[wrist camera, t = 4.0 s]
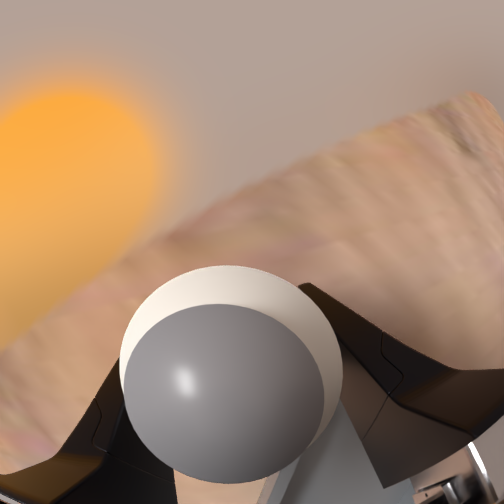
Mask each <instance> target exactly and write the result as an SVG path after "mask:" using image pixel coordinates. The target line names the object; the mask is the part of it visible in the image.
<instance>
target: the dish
mask: <svg viewBox="0 0 504 504" xmlns="http://www.w3.org/2000/svg"><path fill="white" fill-rule="evenodd" d="M413 494H415V491H414V488H413V486H412V484H411V481H410V479H409V478H408V479H406V480H404V481H402V482H400V483H397V484H395V485H393V486H390V487H388V488H386V489H383V487H382V485H381V483H380V481H379V479H378V476H377V474H376V472H375V470H374V468H373V466H372V464H371V462H370V460H369V458H368V455H367V453H366V451H365V449H364V447H363V445H362V442H361V441H360V439H359V437H358V435H357V432H356V430H355V428H354V426H353V424H352V422H351V420H350V418H349V416H348V414H347V412H346V410H345V408H344V406H343V404H342V402H341V400H340V398H339V401H338V404H337V407H336V409H335V412H334V414H333V416H332V418H331V420H330V421H329V423H328V425H327V427H326V428H325V429H324V431H323V432H322V433H321V434H320V436H319V437H318V438H317V439H316V440H315V441H314V442H313V443H312V444H311V445H310V446H309V447H308V448H307V449H305V451H304V452H303V453H302V454H301V455H300V456H299V457H298V458H297V459H296V460H295V461H294V462H292V463H291V464H290V465H288V466H287V467H285V468H284V469H282V470H280V471H278V472H276V473H274V474H273V475H270V476H268V478H267V480H266V483H265V485H264V488H263V490H262V493H261V495H260V497H259V500H258V502H257V504H415V502H414V499H413V497H412V495H413Z"/></svg>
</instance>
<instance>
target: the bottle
mask: <svg viewBox="0 0 504 504" xmlns="http://www.w3.org/2000/svg"><path fill="white" fill-rule="evenodd" d="M120 380H121V387H122V390H123V394H124V400H125V406H126V410H127V413H128V416H129V419H130V421H131V423H132V426H133V428H134V430H135V431H136V433H137V435H138V436H139V438H140V439H141V441H142V442H143V443H144V444H145V446H146V447H147V448H148V449H149V450H150V451H151V452H152V453H153V454H154V455H155V456H156V457H157V458H159V459H160V460H161V461H162V462H164V463H165V464H166V465H168V466H170V467H171V468H173V469H175V470H176V471H178V472H181V473H183V474H185V475H187V476H190V477H193V478H196V479H199V480H203V481H208V482H213V483H223V484H234V483H244V482H251V481H255V480H259V479H262V478H265V477H267V476H270V475H273V474H274V473H276V472H278V471H280V470H282V469H284V468H285V467H287V466H288V465H290V464H291V463H292V462H294V461H295V460H296V459H297V458H298V457H299V456H300V455H301V454H302V453H303V452H304V451H305V449H307V448H308V447H309V446H310V445H311V444H312V443H313V442H314V441H315V440H316V439H317V438H318V437H319V436H320V434H321V433H322V432H323V431H324V429H325V428H326V427H327V425H328V423H329V421H330V420H331V418H332V416H333V414H334V412H335V409H336V407H337V404H338V401H339V397H340V393H341V389H342V380H343V366H342V357H341V352H340V347H339V344H338V341H337V338H336V335H335V333H334V331H333V329H332V327H331V325H330V323H329V321H328V320H327V318H326V317H325V316H324V314H323V313H322V311H321V310H320V309H319V307H318V306H317V305H316V304H315V303H314V302H313V301H312V300H311V299H310V298H309V297H308V296H307V295H306V294H304V293H303V292H302V291H301V290H300V289H298V288H297V287H295V286H294V285H292V284H291V283H289V282H287V281H286V280H284V279H282V278H279V277H277V276H275V275H273V274H271V273H268V272H264V271H261V270H258V269H254V268H248V267H243V266H228V265H225V266H211V267H206V268H201V269H196V270H193V271H190V272H187V273H185V274H182V275H180V276H178V277H176V278H174V279H172V280H170V281H168V282H167V283H165V284H164V285H162V286H161V287H159V288H158V289H157V290H155V291H154V292H153V293H152V294H151V295H150V296H149V297H148V298H147V299H146V300H145V301H144V302H143V303H142V305H141V306H140V307H139V308H138V310H137V311H136V313H135V314H134V316H133V318H132V319H131V321H130V323H129V325H128V328H127V330H126V332H125V335H124V339H123V342H122V346H121V352H120Z"/></svg>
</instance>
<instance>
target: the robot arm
mask: <svg viewBox="0 0 504 504" xmlns="http://www.w3.org/2000/svg"><path fill="white" fill-rule="evenodd" d="M298 289H300V290H301V291H302V292H303V293H304V294H306V295H307V296H308V297H309V298H310V299H311V300H312V301H313V302H314V303H315V304H316V305H317V306H318V307H319V309H320V310H321V311H322V313H323V314H324V316H325V317H326V318H327V320H328V321H329V323H330V325H331V327H332V329H333V331H334V333H335V335H336V338H337V341H338V344H339V347H340V352H341V357H342V366H343V380H342V389H341V393H340V397H339V398H340V400H341V402H342V404H343V406H344V408H345V410H346V412H347V414H348V416H349V418H350V420H351V422H352V424H353V426H354V428H355V430H356V432H357V435H358V437H359V439H360V441H361V442H362V445H363V447H364V449H365V451H366V453H367V455H368V458H369V460H370V462H371V464H372V466H373V468H374V470H375V472H376V474H377V476H378V479H379V481H380V483H381V485H382V487H383V489H386V488H388V487H390V486H393V485H395V484H397V483H400V482H402V481H404V480H406V479H408V478H409V479H410V481H411V484H412V486H413V488H414V491H415V494H413V495H412V497H413V499H414V502H415V504H504V369H487V370H458V369H454V368H451V367H448V366H446V365H444V364H442V363H440V362H438V361H436V360H434V359H432V358H430V357H428V356H426V355H424V354H422V353H420V352H418V351H416V350H414V349H412V348H410V347H409V346H407V345H405V344H403V343H402V342H400V341H398V340H397V339H395V338H393V337H392V336H390V335H389V334H387V333H386V332H384V331H383V332H382V330H381V329H380V328H378V327H377V326H375V325H374V324H372V323H371V322H369V321H368V320H366V319H365V318H363V317H361V316H360V315H358V314H357V313H355V312H354V311H352V310H351V309H349V308H348V307H346V306H345V305H343V304H342V303H340V302H339V301H337V300H336V299H334V298H333V297H331V296H330V295H328V294H327V293H325V292H323V291H322V290H320V289H319V288H317V287H316V286H314V285H313V284H311V283H304V284H301V285H299V286H298ZM0 493H1V494H2V495H4V496H7V497H9V498H11V499H13V500H15V501H17V502H19V503H21V504H178V502H177V495H176V487H175V480H174V471H173V468H171V467H170V466H168V465H166V464H165V463H164V462H162V461H161V460H160V459H159V458H157V457H156V456H155V455H154V454H153V453H152V452H151V451H150V450H149V449H148V448H147V447H146V446H145V444H144V443H143V442H142V441H141V439H140V438H139V436H138V435H137V433H136V431H135V430H134V428H133V426H132V423H131V421H130V419H129V416H128V413H127V410H126V406H125V400H124V394H123V390H122V387H121V380H120V357H119V358H118V360H117V361H116V363H115V365H114V366H113V368H112V369H111V371H110V373H109V374H108V376H107V377H106V379H105V381H104V382H103V384H102V386H101V387H100V389H99V391H98V392H97V394H96V396H95V398H94V399H93V401H92V402H91V404H90V406H89V407H88V409H87V411H86V412H85V414H84V415H83V417H82V418H81V420H80V421H79V423H78V424H77V426H76V427H75V429H74V430H73V432H72V433H71V434H70V436H69V437H68V439H67V440H66V442H65V443H64V444H63V446H62V447H61V449H60V450H59V451H58V453H57V454H56V455H54V456H53V457H52V458H50V459H48V460H46V461H44V462H41V463H39V464H36V465H34V466H31V467H28V468H26V469H23V470H20V471H18V472H15V473H11V474H7V475H1V474H0ZM0 504H10V503H7V502H5V501H3V500H1V499H0Z"/></svg>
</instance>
